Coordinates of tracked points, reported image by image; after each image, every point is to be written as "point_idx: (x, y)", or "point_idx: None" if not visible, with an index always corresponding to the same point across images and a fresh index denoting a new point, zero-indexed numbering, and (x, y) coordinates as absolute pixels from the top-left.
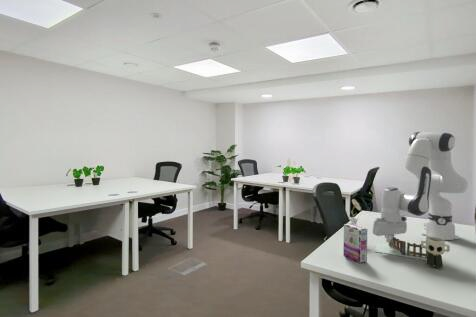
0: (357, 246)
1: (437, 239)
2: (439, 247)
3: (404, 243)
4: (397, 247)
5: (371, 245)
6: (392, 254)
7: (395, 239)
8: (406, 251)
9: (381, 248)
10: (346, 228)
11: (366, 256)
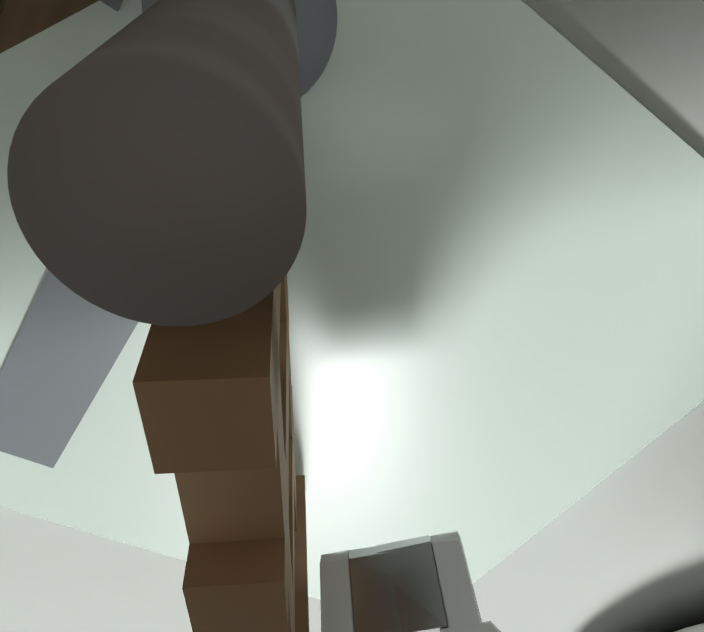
0: None
1: None
2: None
3: (207, 33)
4: (285, 326)
5: (572, 554)
6: (595, 65)
7: (288, 617)
8: (13, 237)
9: (544, 427)
10: None
11: None
